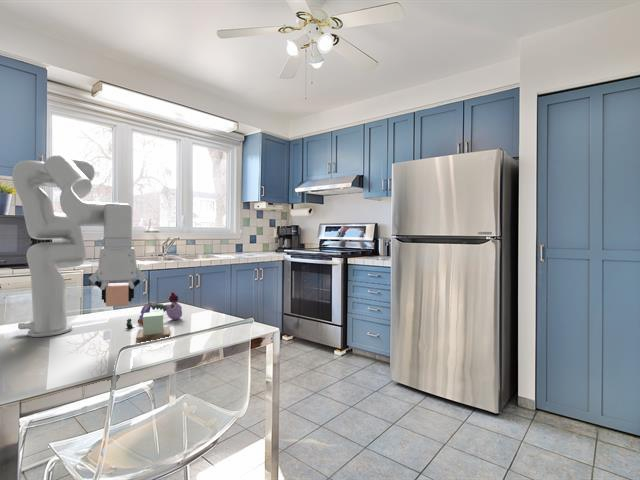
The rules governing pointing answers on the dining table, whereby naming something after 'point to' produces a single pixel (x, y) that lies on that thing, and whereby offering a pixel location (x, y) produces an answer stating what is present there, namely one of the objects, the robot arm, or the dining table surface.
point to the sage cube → (152, 323)
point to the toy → (164, 309)
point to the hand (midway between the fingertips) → (118, 300)
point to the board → (152, 335)
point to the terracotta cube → (117, 294)
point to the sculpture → (129, 324)
